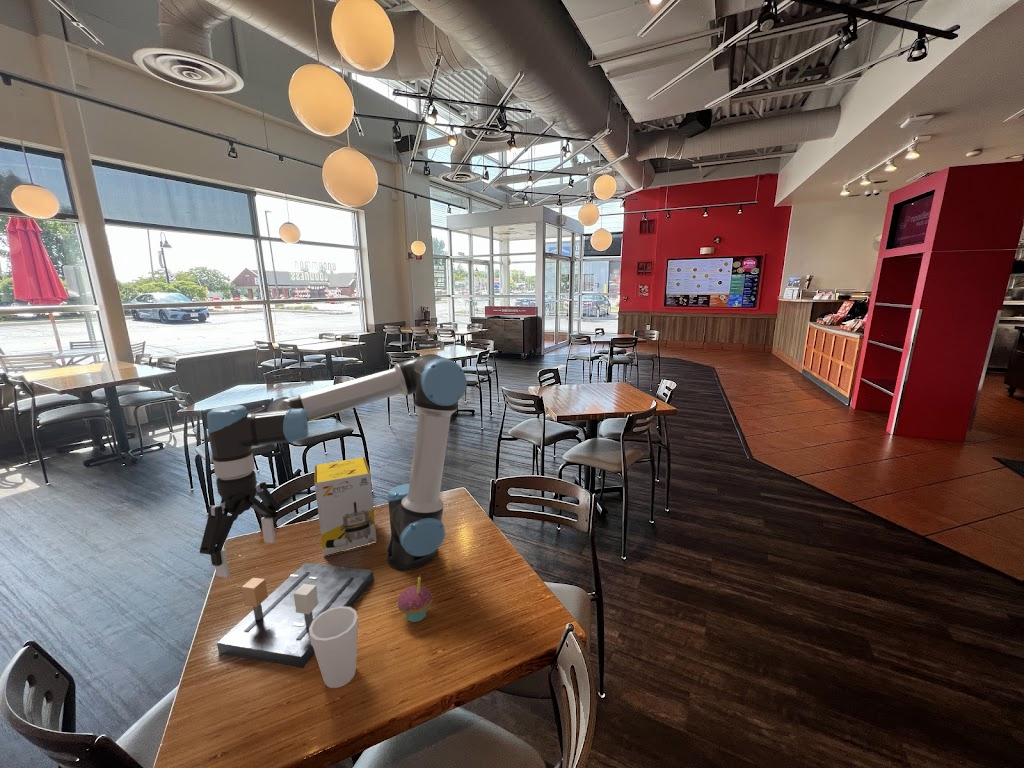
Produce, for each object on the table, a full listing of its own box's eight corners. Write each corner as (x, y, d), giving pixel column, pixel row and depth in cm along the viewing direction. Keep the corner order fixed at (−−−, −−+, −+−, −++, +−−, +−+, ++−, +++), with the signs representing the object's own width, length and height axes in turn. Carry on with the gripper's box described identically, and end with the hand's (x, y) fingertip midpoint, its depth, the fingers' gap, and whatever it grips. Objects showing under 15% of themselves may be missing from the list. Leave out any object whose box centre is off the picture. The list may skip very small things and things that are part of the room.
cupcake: (439, 607, 108) (436, 566, 106) (421, 631, 100) (418, 588, 98) (410, 600, 111) (407, 560, 109) (391, 623, 103) (387, 580, 101)
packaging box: (323, 556, 131) (314, 483, 126) (322, 532, 146) (314, 465, 141) (376, 543, 138) (370, 473, 133) (370, 521, 152) (364, 456, 148)
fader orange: (270, 613, 103) (265, 579, 101) (259, 624, 99) (253, 588, 97) (258, 612, 103) (253, 577, 101) (247, 622, 100) (241, 586, 98)
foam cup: (325, 658, 93) (319, 607, 91) (367, 654, 94) (362, 604, 91) (309, 697, 84) (301, 642, 81) (355, 693, 85) (349, 638, 82)
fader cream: (320, 620, 100) (316, 585, 98) (311, 631, 97) (306, 595, 95) (308, 619, 101) (303, 583, 99) (298, 629, 97) (293, 593, 95)
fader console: (374, 579, 120) (373, 569, 119) (304, 668, 91) (302, 656, 90) (306, 571, 124) (304, 562, 123) (218, 653, 95) (216, 641, 94)
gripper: (263, 453, 107) (273, 528, 111) (167, 497, 83) (184, 591, 87) (289, 455, 105) (298, 531, 109) (198, 500, 81) (214, 595, 85)
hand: (248, 557), depth 98 cm, fingers open, 13 cm apart
